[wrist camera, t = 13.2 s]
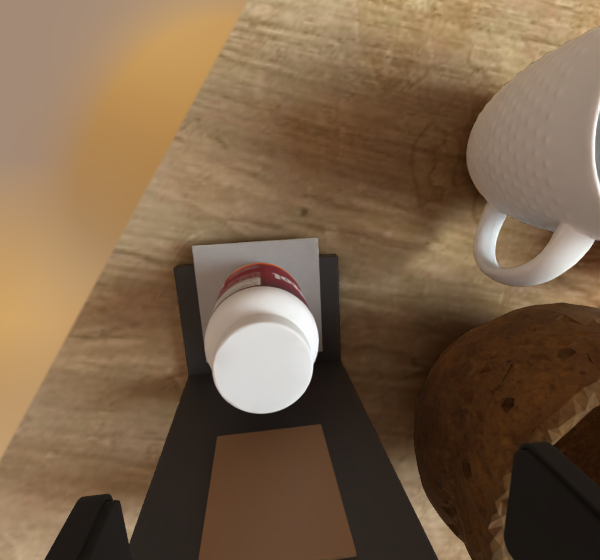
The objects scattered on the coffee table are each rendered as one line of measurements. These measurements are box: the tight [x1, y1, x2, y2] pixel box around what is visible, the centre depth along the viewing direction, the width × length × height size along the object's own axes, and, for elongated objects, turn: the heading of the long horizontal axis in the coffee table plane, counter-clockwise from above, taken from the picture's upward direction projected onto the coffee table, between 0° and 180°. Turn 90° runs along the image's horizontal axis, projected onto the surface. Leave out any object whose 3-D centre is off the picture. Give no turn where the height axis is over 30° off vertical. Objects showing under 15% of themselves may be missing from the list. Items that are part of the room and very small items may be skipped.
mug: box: [466, 26, 600, 287], centre depth 22 cm, size 15×11×13 cm
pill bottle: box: [205, 262, 319, 414], centre depth 22 cm, size 6×6×11 cm
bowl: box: [414, 303, 600, 560], centre depth 26 cm, size 19×19×15 cm
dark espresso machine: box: [129, 237, 438, 560], centre depth 21 cm, size 24×12×20 cm, turn 3°
